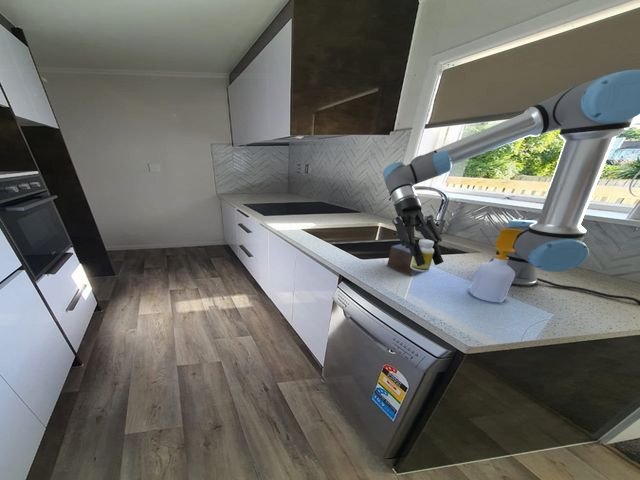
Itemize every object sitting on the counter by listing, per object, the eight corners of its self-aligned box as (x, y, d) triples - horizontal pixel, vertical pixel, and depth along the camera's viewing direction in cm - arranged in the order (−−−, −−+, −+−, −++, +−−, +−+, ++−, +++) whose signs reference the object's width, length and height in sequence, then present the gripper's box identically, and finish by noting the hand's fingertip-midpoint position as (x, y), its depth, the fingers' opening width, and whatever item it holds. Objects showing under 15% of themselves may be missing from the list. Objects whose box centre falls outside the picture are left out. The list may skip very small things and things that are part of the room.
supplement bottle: (431, 272, 78) (440, 244, 74) (413, 271, 79) (420, 243, 75) (424, 265, 83) (432, 238, 79) (407, 264, 84) (413, 237, 80)
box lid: (432, 251, 100) (432, 250, 99) (416, 256, 95) (417, 254, 95) (406, 243, 109) (406, 242, 108) (391, 247, 104) (391, 246, 104)
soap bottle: (470, 298, 83) (497, 229, 74) (467, 286, 90) (491, 222, 81) (506, 306, 79) (539, 234, 69) (500, 293, 86) (529, 226, 76)
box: (425, 270, 103) (431, 251, 100) (410, 275, 99) (415, 256, 96) (402, 261, 112) (406, 243, 109) (386, 266, 108) (391, 247, 104)
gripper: (422, 207, 89) (447, 266, 80) (375, 209, 87) (396, 270, 79) (438, 194, 82) (467, 257, 74) (387, 196, 80) (411, 261, 72)
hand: (430, 264), depth 76 cm, fingers closed on supplement bottle, 5 cm apart
